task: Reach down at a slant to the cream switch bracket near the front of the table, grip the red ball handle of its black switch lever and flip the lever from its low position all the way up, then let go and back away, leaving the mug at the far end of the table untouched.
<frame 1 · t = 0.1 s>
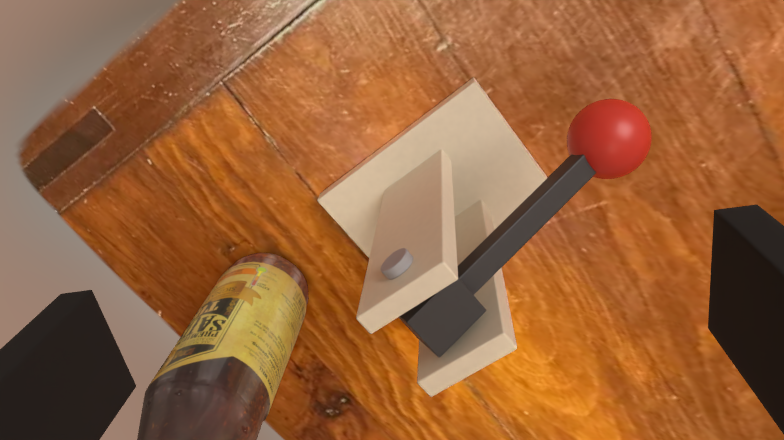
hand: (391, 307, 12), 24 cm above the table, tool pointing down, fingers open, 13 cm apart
sauce bottle: (267, 287, 41), on the table
switch bracket: (437, 192, 36), on the table
switch lever: (528, 218, 26), point 10 cm above the table, hinge at -28.0°
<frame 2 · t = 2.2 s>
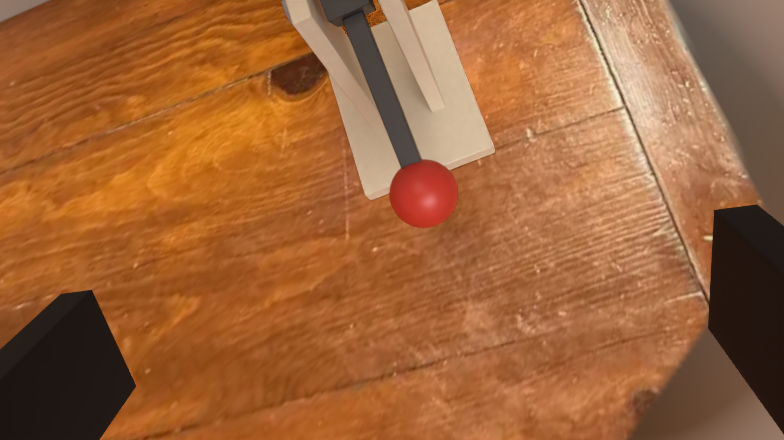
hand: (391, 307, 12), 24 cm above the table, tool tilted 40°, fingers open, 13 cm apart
switch bracket: (405, 101, 41), on the table
switch lever: (385, 97, 29), point 10 cm above the table, hinge at -28.0°
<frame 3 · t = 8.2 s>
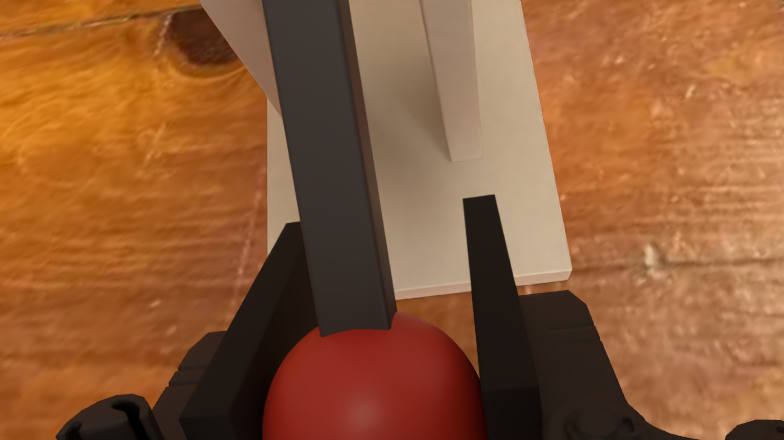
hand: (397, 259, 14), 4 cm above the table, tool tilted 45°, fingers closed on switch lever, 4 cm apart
switch bracket: (403, 127, 20), on the table
switch lever: (321, 90, 9), point 10 cm above the table, hinge at -28.0°, touching gripper
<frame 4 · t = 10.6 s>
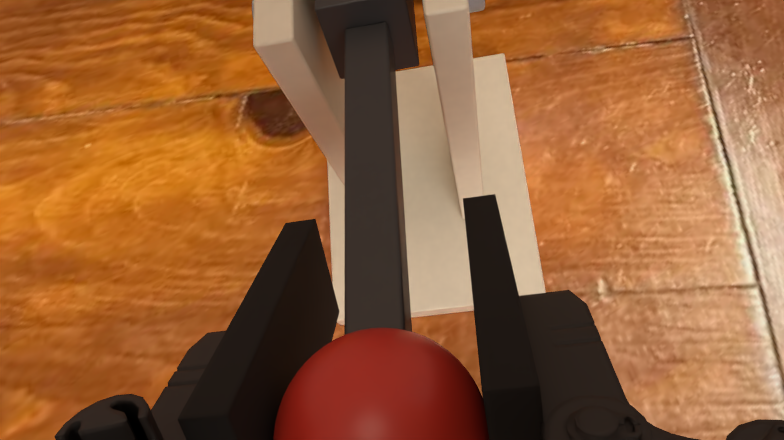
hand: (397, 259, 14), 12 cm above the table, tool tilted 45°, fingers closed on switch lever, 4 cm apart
switch bracket: (426, 189, 27), on the table
switch lever: (374, 178, 12), point 14 cm above the table, hinge at 10.8°, touching gripper
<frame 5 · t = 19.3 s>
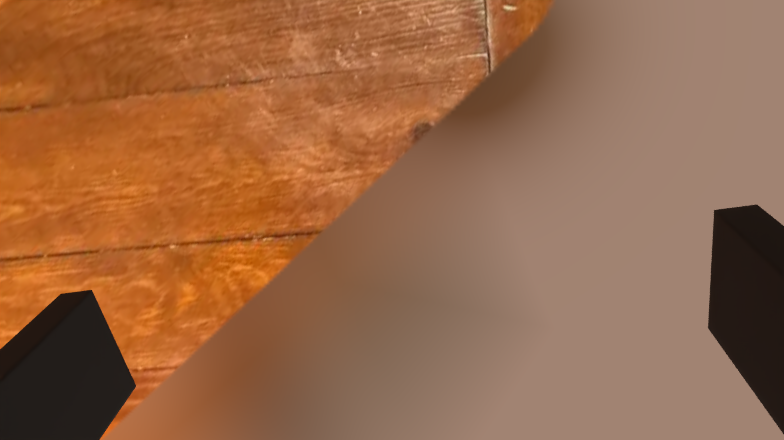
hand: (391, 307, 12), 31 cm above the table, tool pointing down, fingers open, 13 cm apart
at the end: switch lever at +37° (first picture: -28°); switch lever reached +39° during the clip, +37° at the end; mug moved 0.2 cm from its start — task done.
